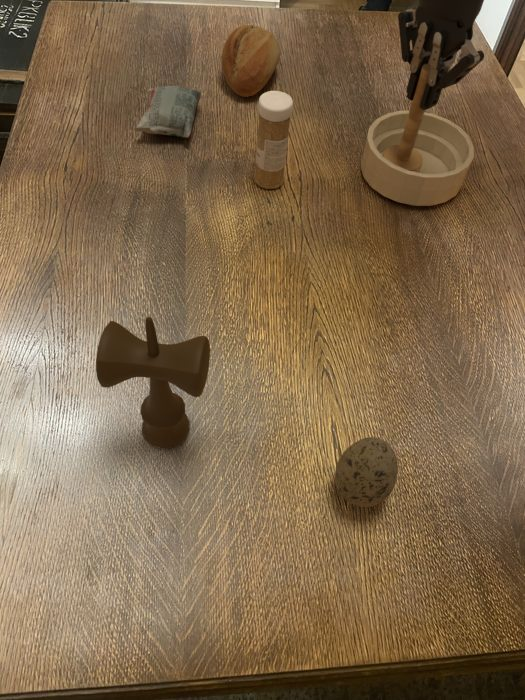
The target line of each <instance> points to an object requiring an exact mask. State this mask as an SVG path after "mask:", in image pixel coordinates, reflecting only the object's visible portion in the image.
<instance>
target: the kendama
mask: <svg viewBox="0 0 525 700" xmlns="http://www.w3.org/2000/svg"><path fill="white" fill-rule="evenodd" d="M145 337H146V340H143V339H142V338H140V337H138V336H137V335H135V334H134V333H132V332H131V331H130V330H128V329H127V328H126V327H125V326H123V325H122V324H120V323H119V322H117V321H114V320H110V321H109V322H108V323H107V325H105V327H104V328H103V331H102V333H101V335H100V338H99V341H98V345H97V351H96V357H95V373H96V379H97V382H98V384H99V385H100V387H101V388H105V389H107V388H111V387H114V386H117V385H120V384H121V383H123V382H125V381H128V380H131V379H133V378H148V379H149V393H148V395H147V396H145V398H143V400H142V403H141V405H140V414H139V415H140V416H141V419H142V423H141V434H142V436H143V440H144V441H145V442H146V443H148V444H149V445H150V446H152V447H154V448H158V449H173V448H176V447H179V446H181V444H183V443H184V442H185V440H186V439H187V438H188V434H189V432H190V423H191V422H190V419H189V417H188V414H187V413H186V404H185V402H184V399H183V397H181V396H180V395H179V394H177V393H175V392H173V391H172V388H171V386H170V384H171V385H173V386H175V387H176V388H178V389H179V390H181V391H183V392H185V393H186V394H188V395H189V396H191V397H194V398H200V397H201V396H202V395H203V392H204V391H205V387H206V383H207V381H208V374H209V368H210V360H211V345H210V340H209V338H208V336H205V335H199V336H195V337H192V338H189V339H187V340H184V341H181V342H178V343H171V344H170V343H168V344H167V343H160V342H159V340H158V336H157V332H156V326H155V323H154V320H153V318H152V317H150V316H146V317H145Z"/></svg>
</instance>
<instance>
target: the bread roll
mask: <svg viewBox="0 0 525 700" xmlns="http://www.w3.org/2000/svg"><path fill="white" fill-rule="evenodd" d="M281 54H282V53H281V46H280V43H279V41H278V39H277V38H276V36H275V35H274V33H273V32H272V31H269V30H267V29H265V28H263V27H260V26H254V25H253V24H250V25H249V24H242V25H240V26H238V27H236V28H235V29H234V30H232V31H231V33H230V34H229V36H228V37H227V38H226V41H225V42H224V45H223V48H222V51H221V59H220V60H221V68H222V72H223V75H224V77H225V80H226V83H227V84H228V86H229V88H230V89H231V90H232V91H233V92H234V93H235V94H237V95H238V96H240V97H243V98H246V97H247V98H249V97H251V96H255V95H256V94H257V93H259V92H260V91H261V90H262V89H263V88H264V87H265V86H266V85H267V83H268V82H269V80H270V79H271V77H272V75H273V73H274V72H275V71H276V68H277V67H278V64H279V63H280V59H281Z"/></svg>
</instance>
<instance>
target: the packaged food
mask: <svg viewBox="0 0 525 700" xmlns="http://www.w3.org/2000/svg"><path fill="white" fill-rule="evenodd" d="M147 93H148V96H149V97H148V104H147V106H146V107H145V112H144V113H143V116H142V117H141V119H140V120H139V122H138V124H137V125H136V127H134V128H133V130H134V131H135V132H136V133H140V132H141V133H142V132H144V133H147V134H153V135H162V136H172V137H173V136H174V137H179V138H185V139H188V138H191V135H192V130H193V126H194V122H195V116H196V111H197V109H198V107H199V102H200V100H201V98H202V93H201V91H200V90H197V89H193V88H189V87H185V86H182V85H165V86H164V85H163V86H156V87H152V88H148V90H147Z"/></svg>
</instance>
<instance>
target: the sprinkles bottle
mask: <svg viewBox="0 0 525 700" xmlns="http://www.w3.org/2000/svg"><path fill="white" fill-rule="evenodd" d="M293 105H294V102H293V98H292V97H291V95H289V94H288V93H286V92H284V91H280V90H269V91H265V92H264V93H262V94H261V95H260V96H259V98H258V106H257V107H258V108H257V111H258V115H259V116H258V127H257V138H256V152H255V172H254V176H253V177H254V182H255V184H256V185H257V186H259V187H260V188H262V189H266V190H274V189H279V188H280V187H281V186H282V185H283V184H284V183H285V176H284V175H285V167H286V164H287V163H286V162H287V153H288V144H289V137H290V132H289V131H290V123H291V117H292V114H293V107H294V106H293Z"/></svg>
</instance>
